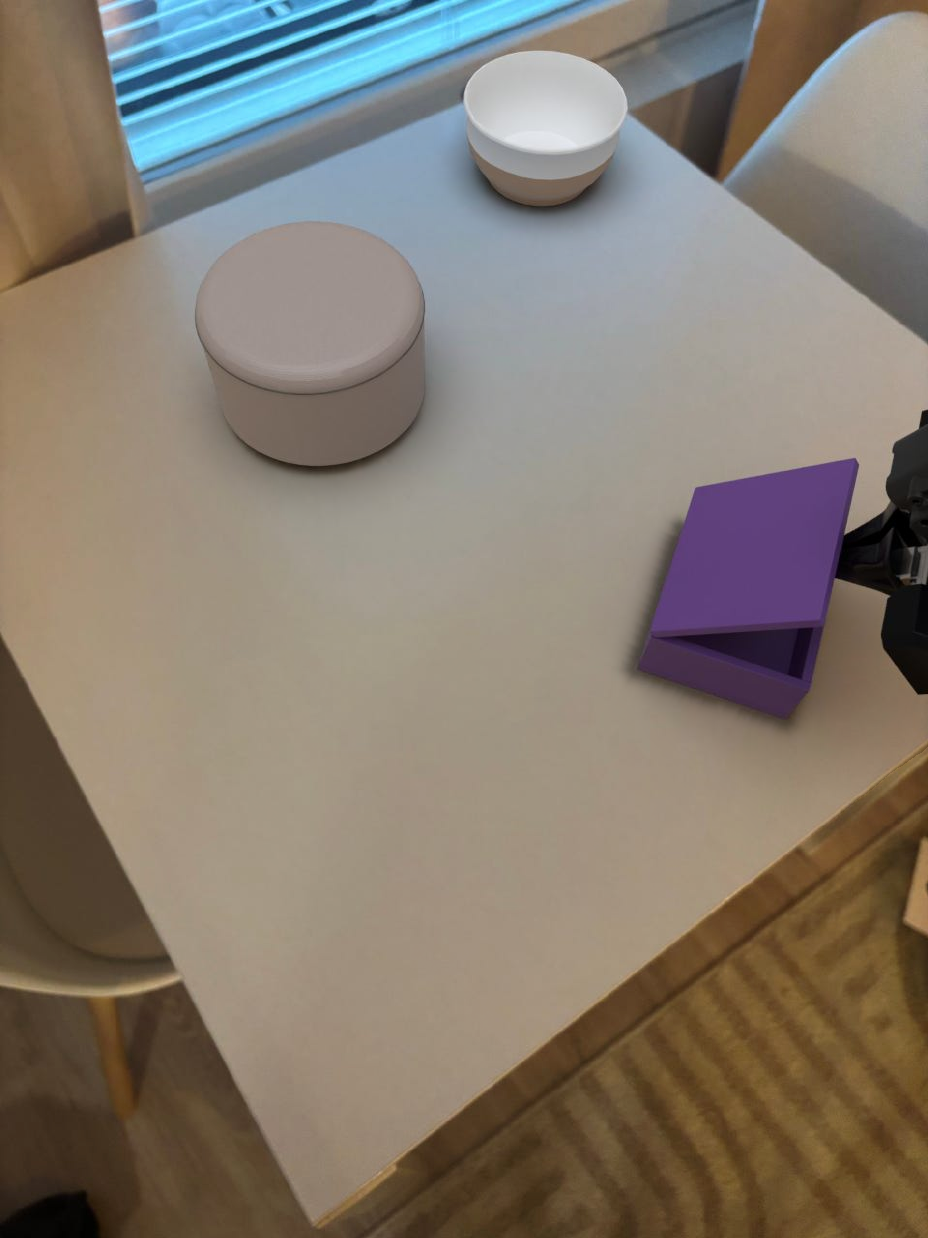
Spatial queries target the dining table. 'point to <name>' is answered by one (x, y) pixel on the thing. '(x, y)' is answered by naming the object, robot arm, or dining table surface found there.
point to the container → (314, 341)
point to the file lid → (758, 553)
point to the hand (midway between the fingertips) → (810, 563)
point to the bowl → (543, 124)
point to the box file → (739, 664)
